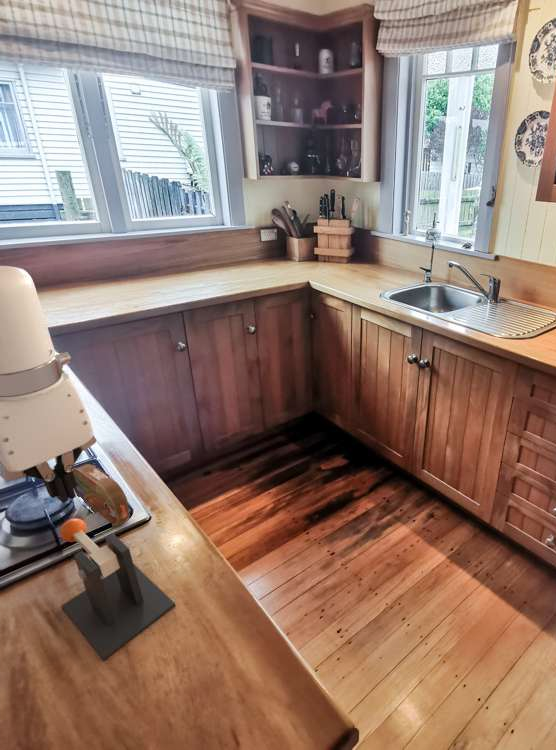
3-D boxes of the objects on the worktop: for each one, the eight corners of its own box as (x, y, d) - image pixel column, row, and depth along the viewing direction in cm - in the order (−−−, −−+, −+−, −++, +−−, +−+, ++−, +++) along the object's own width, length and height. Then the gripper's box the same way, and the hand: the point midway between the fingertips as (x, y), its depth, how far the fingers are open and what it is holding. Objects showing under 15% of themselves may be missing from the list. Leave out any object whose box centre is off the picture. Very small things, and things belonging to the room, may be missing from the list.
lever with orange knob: (59, 539, 67) (53, 523, 65) (82, 526, 69) (77, 510, 68) (100, 583, 60) (94, 566, 59) (124, 567, 63) (119, 550, 61)
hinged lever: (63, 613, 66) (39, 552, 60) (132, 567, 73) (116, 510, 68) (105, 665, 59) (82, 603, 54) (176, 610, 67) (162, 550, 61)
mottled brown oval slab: (75, 499, 86) (63, 463, 82) (92, 490, 88) (81, 454, 84) (119, 537, 78) (108, 498, 74) (137, 525, 81) (127, 487, 77)
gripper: (75, 347, 62) (107, 458, 70) (-70, 388, 51) (-12, 514, 59) (103, 362, 58) (133, 479, 66) (-48, 410, 47) (11, 542, 55)
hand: (64, 495), depth 63 cm, fingers closed
